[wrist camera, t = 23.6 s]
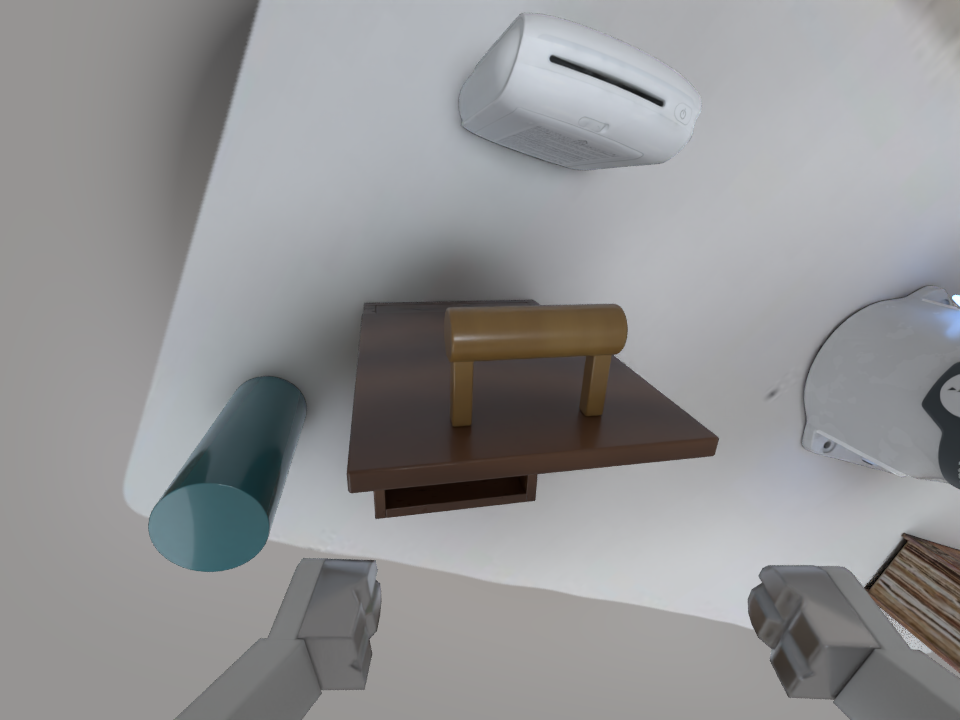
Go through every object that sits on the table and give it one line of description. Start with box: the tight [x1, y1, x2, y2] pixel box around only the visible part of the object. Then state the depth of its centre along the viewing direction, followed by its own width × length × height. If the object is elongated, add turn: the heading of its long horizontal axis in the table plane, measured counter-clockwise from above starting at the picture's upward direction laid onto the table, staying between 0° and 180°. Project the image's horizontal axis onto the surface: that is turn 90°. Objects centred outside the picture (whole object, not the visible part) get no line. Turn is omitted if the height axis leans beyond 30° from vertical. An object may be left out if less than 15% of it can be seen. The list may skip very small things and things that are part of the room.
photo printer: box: [459, 13, 702, 170], centre depth 25 cm, size 10×4×12 cm, turn 74°
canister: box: [148, 376, 307, 572], centre depth 28 cm, size 5×5×13 cm
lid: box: [347, 304, 719, 493], centre depth 21 cm, size 16×13×5 cm
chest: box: [363, 300, 539, 519], centre depth 34 cm, size 16×13×4 cm
